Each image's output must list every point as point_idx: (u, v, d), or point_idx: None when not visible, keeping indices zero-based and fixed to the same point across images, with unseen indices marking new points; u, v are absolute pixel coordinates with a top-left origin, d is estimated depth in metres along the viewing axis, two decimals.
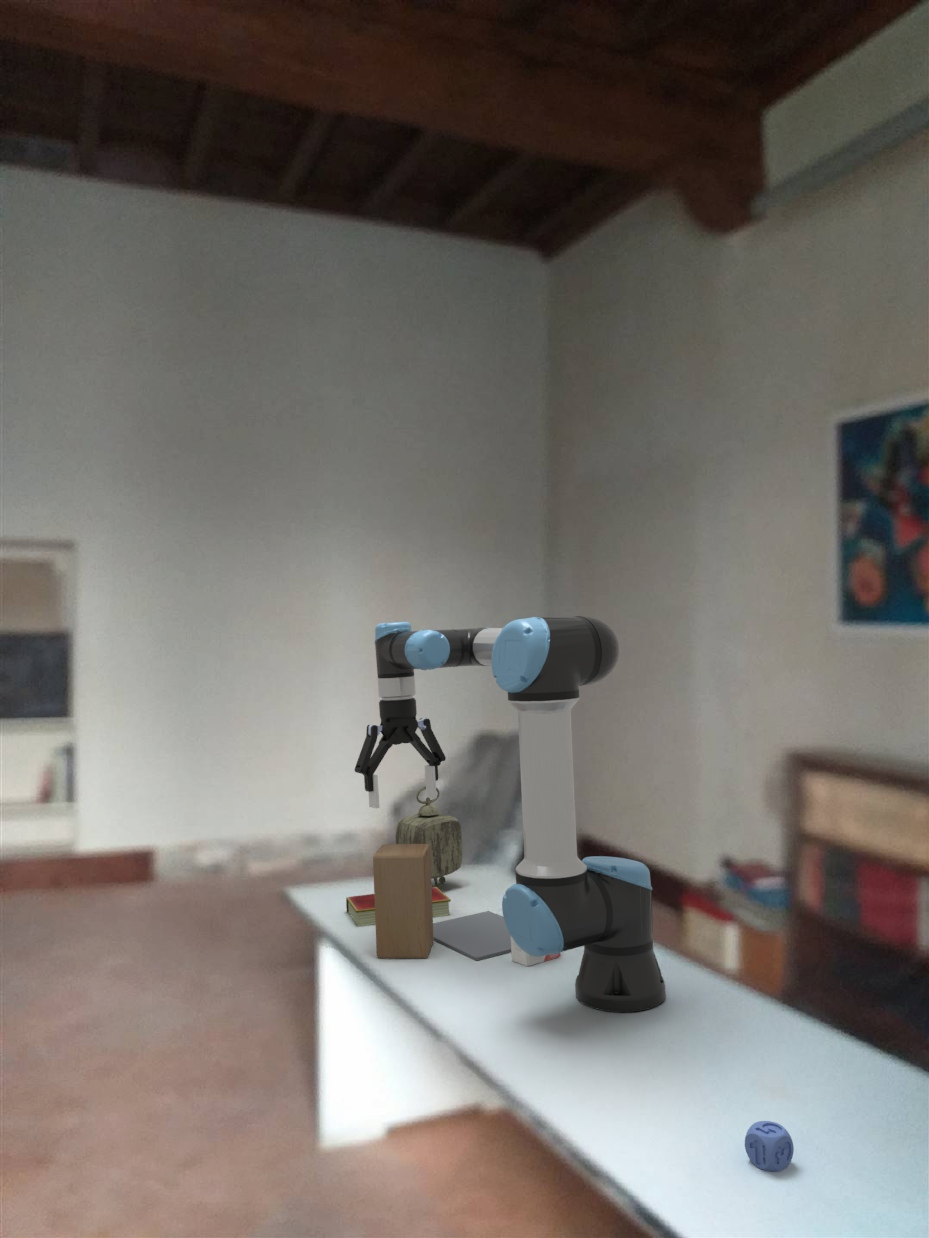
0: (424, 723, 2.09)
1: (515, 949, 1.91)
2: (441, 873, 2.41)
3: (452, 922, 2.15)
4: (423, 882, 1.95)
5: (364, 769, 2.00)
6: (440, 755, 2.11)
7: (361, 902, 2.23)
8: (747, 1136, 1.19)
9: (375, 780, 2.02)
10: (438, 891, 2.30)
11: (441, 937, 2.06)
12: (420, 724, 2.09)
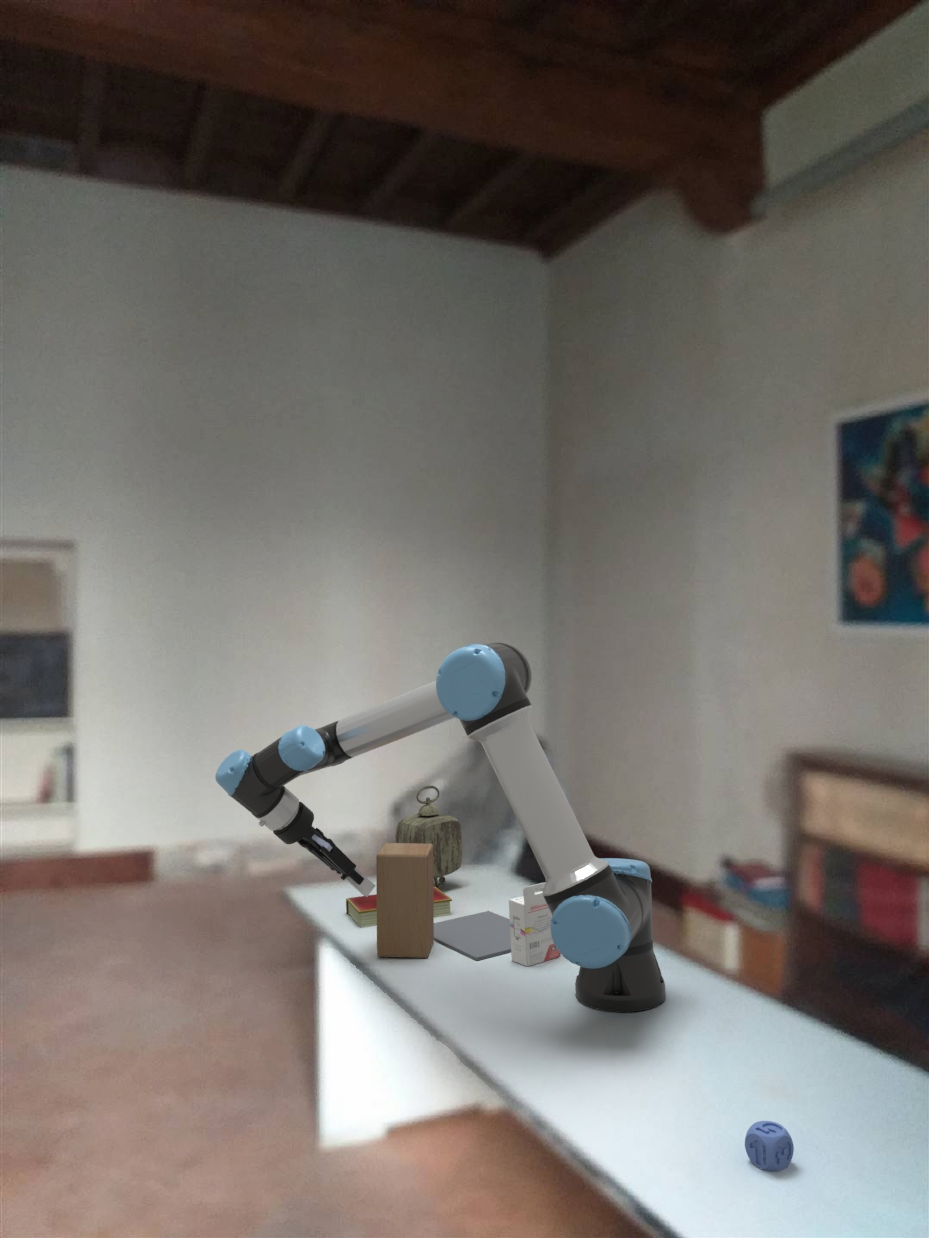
0: None
1: (515, 949, 1.91)
2: (441, 873, 2.41)
3: (452, 922, 2.15)
4: (426, 882, 1.95)
5: None
6: None
7: (363, 903, 2.22)
8: (747, 1136, 1.19)
9: None
10: (438, 891, 2.30)
11: (441, 937, 2.06)
12: None
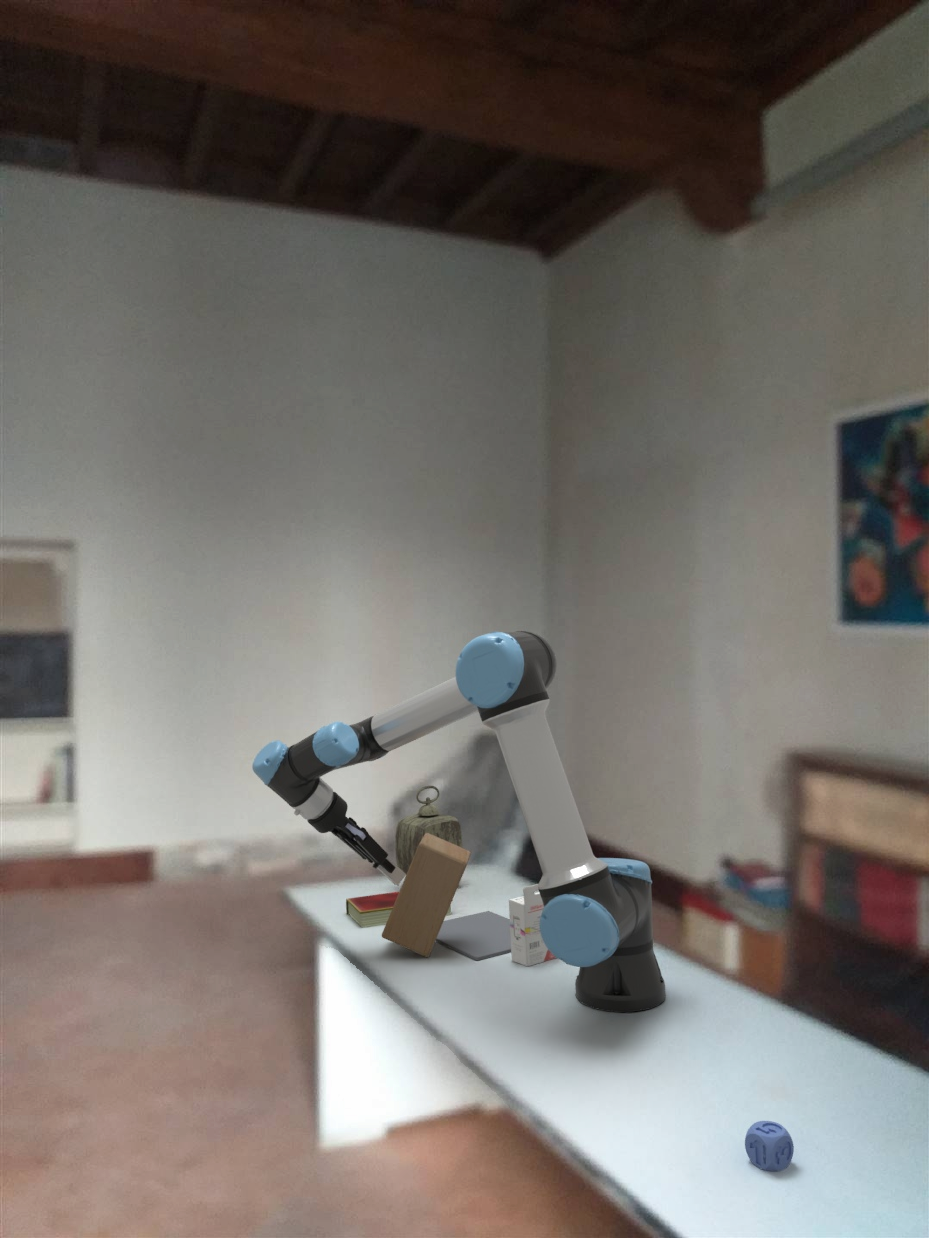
0: None
1: (515, 949, 1.91)
2: None
3: (452, 922, 2.15)
4: (455, 888, 1.95)
5: None
6: None
7: (363, 903, 2.22)
8: (747, 1136, 1.19)
9: None
10: None
11: (441, 937, 2.06)
12: None
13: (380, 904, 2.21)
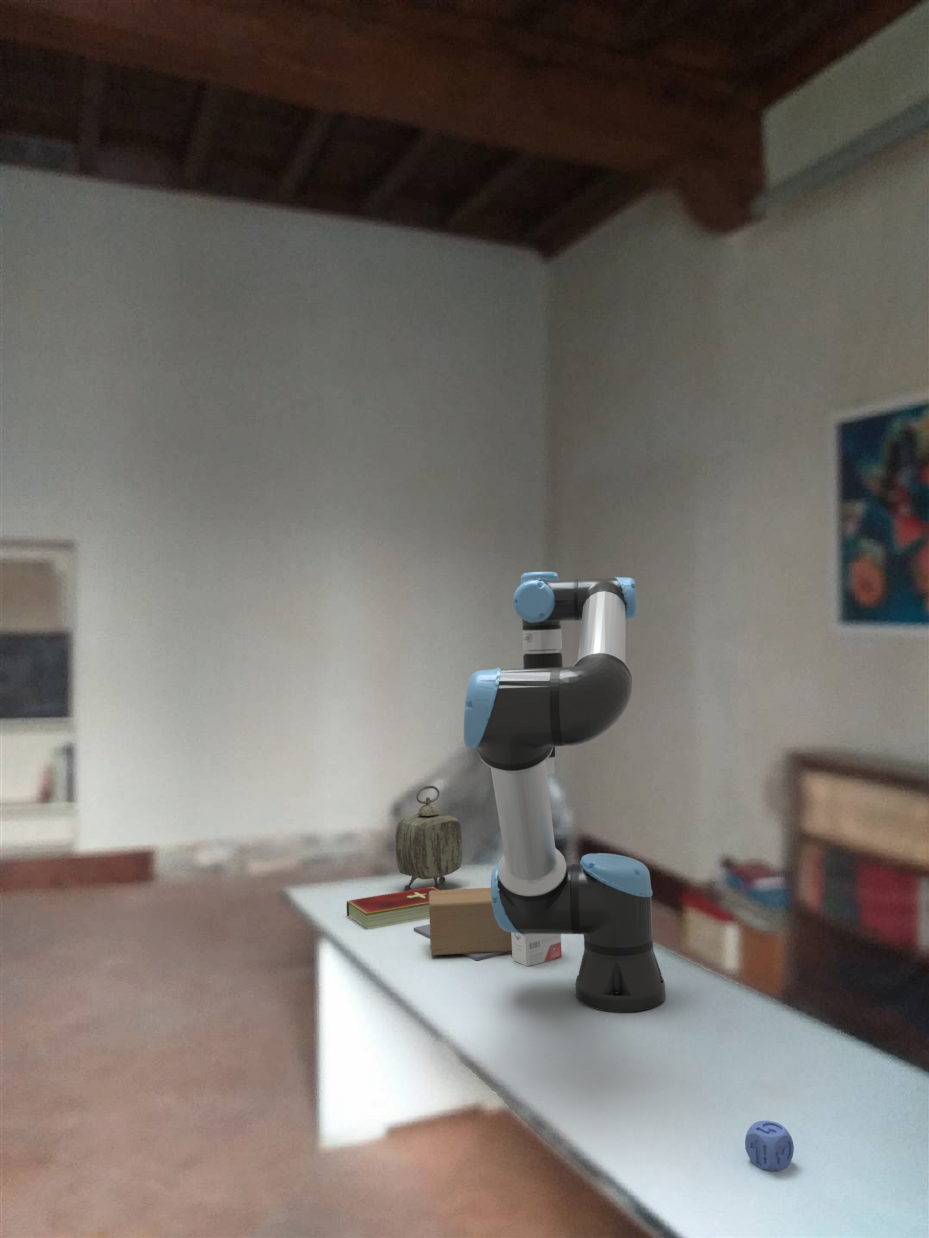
0: None
1: (516, 949, 1.91)
2: (441, 873, 2.41)
3: None
4: (507, 950, 1.96)
5: None
6: None
7: (366, 905, 2.21)
8: (747, 1136, 1.19)
9: None
10: None
11: None
12: None
13: (384, 905, 2.21)
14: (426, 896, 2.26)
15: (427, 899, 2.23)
